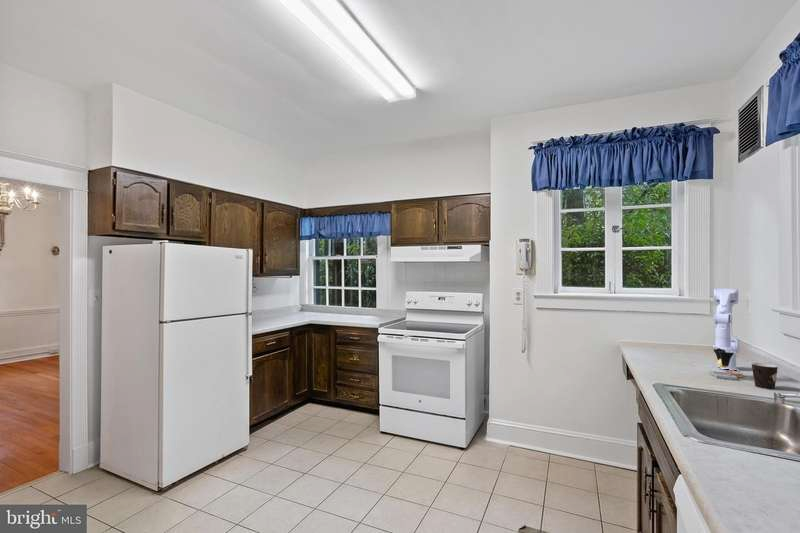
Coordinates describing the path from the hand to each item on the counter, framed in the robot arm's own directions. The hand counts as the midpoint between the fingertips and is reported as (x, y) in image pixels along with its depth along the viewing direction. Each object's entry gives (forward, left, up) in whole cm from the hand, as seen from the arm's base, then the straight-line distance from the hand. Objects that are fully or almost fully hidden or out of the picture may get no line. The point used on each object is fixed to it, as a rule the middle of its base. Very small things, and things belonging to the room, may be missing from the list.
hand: (723, 364), depth 189 cm
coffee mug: (+15, +9, -6) cm, 19 cm away
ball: (0, 0, +1) cm, 1 cm away
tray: (0, 0, -6) cm, 6 cm away
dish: (-8, +6, -6) cm, 12 cm away
